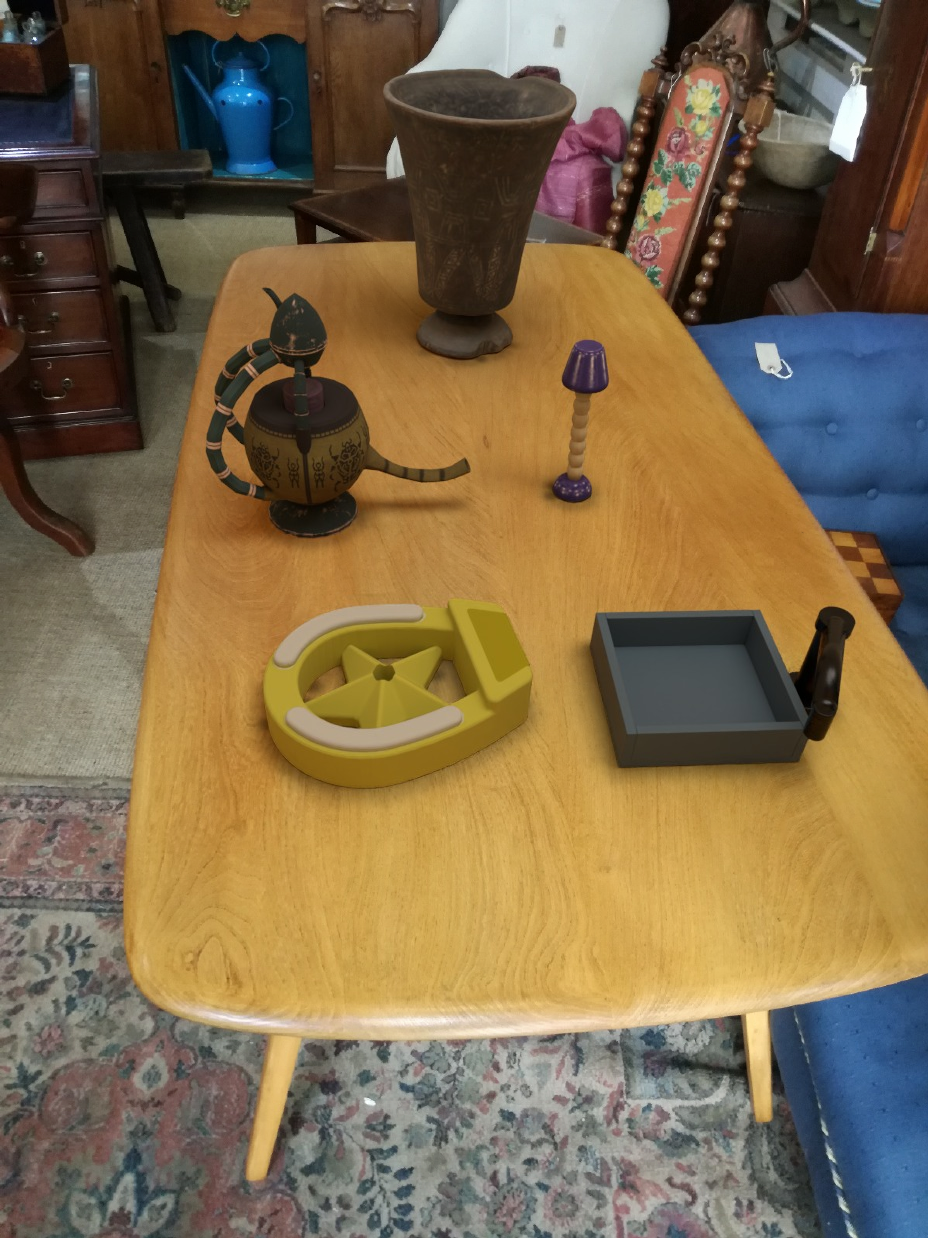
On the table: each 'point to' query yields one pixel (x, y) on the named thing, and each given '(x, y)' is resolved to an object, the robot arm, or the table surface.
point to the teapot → (300, 430)
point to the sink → (696, 689)
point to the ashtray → (395, 690)
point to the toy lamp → (581, 413)
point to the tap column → (807, 674)
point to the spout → (828, 669)
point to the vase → (473, 191)
